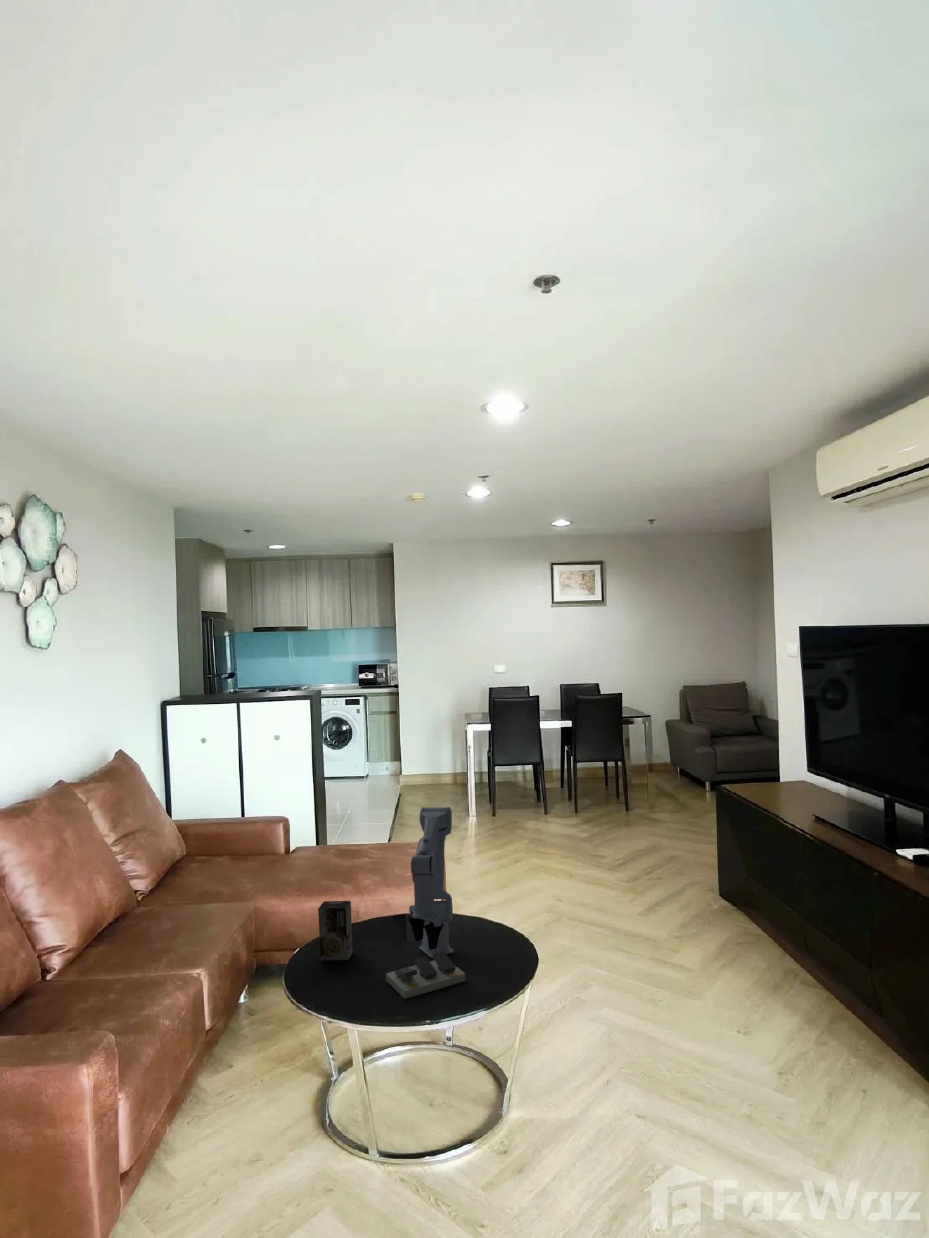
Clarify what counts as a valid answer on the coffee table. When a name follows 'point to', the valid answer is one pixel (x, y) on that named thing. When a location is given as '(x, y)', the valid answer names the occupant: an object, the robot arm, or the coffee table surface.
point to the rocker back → (444, 962)
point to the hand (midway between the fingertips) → (426, 944)
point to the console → (424, 981)
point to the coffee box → (335, 930)
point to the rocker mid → (425, 967)
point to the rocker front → (406, 972)
